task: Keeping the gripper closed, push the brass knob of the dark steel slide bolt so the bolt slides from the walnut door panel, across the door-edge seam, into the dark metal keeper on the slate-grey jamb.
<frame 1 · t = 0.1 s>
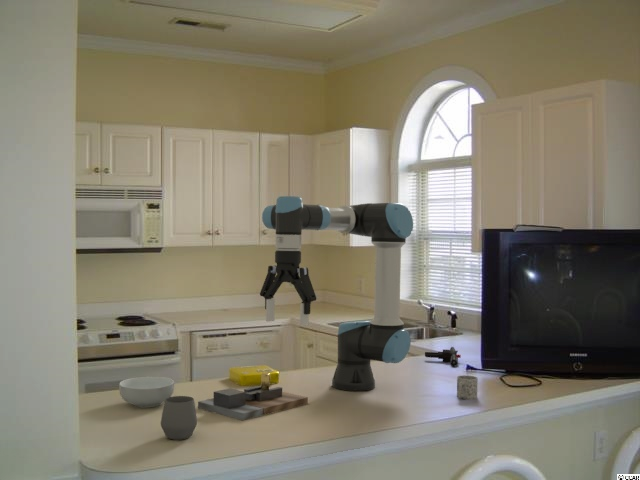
hand: (286, 323, 205), 28 cm above the worktop, tool pointing down, fingers open, 13 cm apart
door and jamb: (251, 406, 221), on the worktop
bolt: (258, 386, 223), point 6 cm above the worktop, slide at 0.0 cm
cup: (178, 437, 187), on the worktop
cereal bowl: (146, 405, 221), on the worktop
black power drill: (442, 362, 303), on the worktop
bolt housing: (248, 394, 220), on the door and jamb, point 4 cm above the worktop
element tile: (253, 382, 259), on the worktop
mug: (464, 398, 237), on the worktop
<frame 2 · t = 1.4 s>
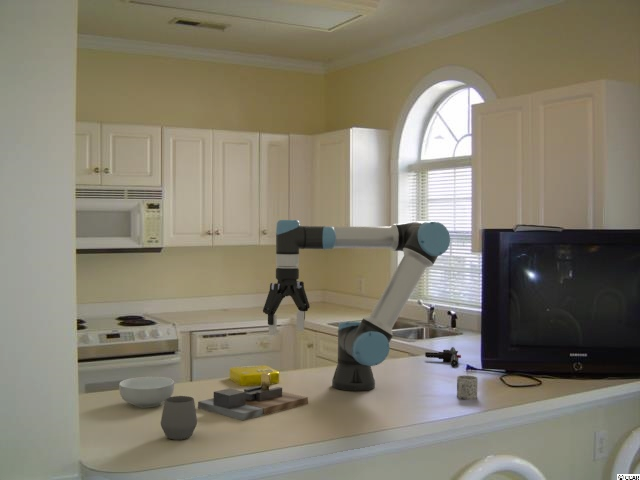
hand: (286, 332, 231), 21 cm above the worktop, tool pointing down, fingers open, 13 cm apart
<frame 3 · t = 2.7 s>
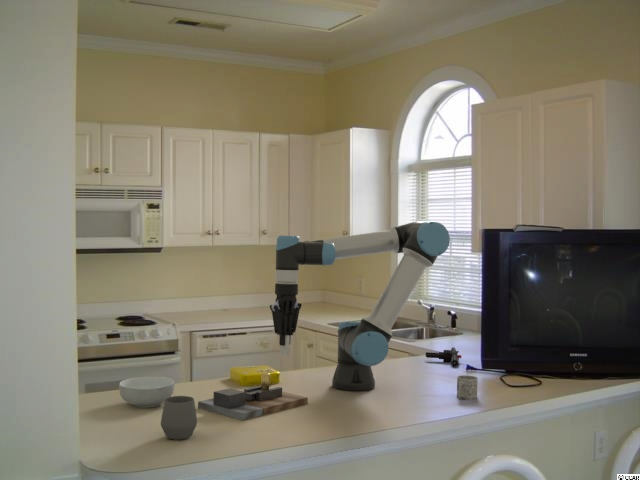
hand: (284, 355, 232), 14 cm above the worktop, tool pointing down, fingers closed
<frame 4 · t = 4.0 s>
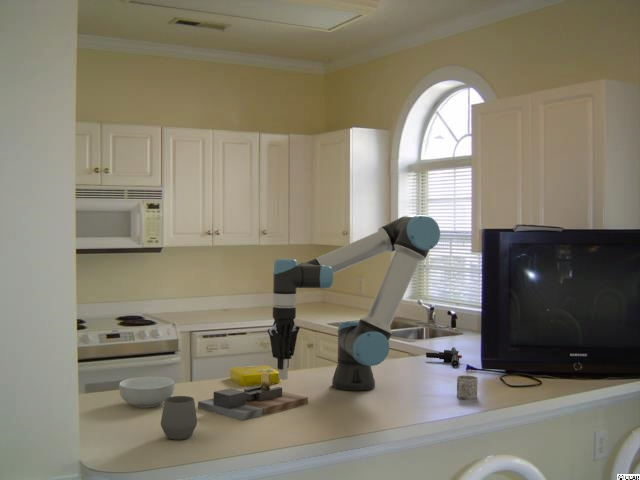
hand: (282, 378, 231), 7 cm above the worktop, tool pointing down, fingers closed
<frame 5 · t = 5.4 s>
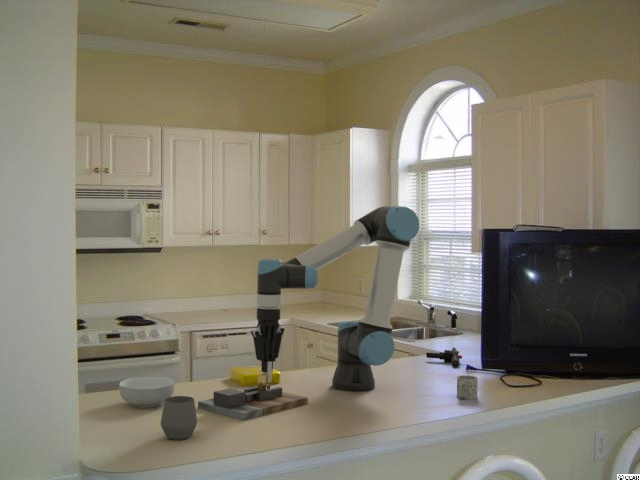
hand: (266, 381, 226), 7 cm above the worktop, tool pointing down, fingers closed
bolt: (255, 386, 222), point 6 cm above the worktop, slide at 1.4 cm, touching gripper
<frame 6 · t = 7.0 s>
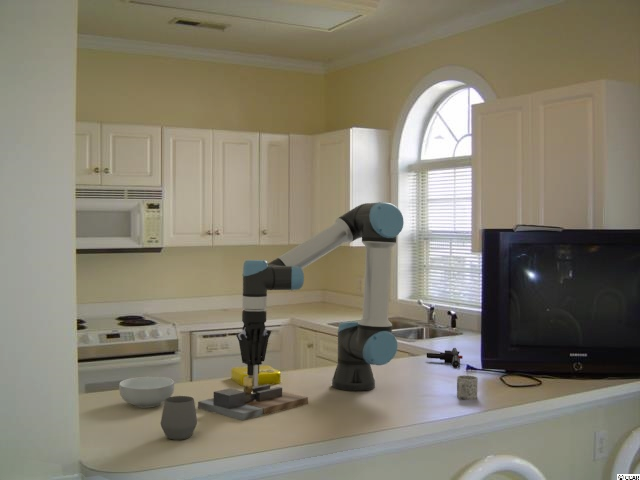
hand: (253, 385, 221), 6 cm above the worktop, tool pointing down, fingers closed
bolt: (240, 390, 217), point 6 cm above the worktop, slide at 7.6 cm, touching gripper
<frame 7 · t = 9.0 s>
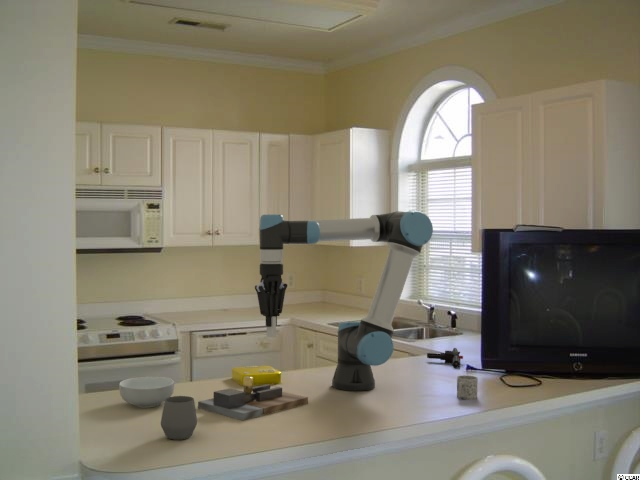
hand: (271, 336, 227), 21 cm above the worktop, tool pointing down, fingers closed
bolt: (240, 390, 217), point 6 cm above the worktop, slide at 7.6 cm
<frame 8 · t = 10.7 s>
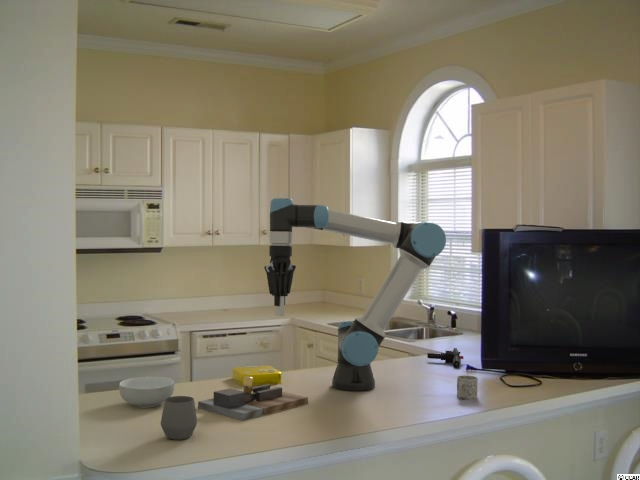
hand: (279, 315, 236), 26 cm above the worktop, tool pointing down, fingers closed
at the end: bolt slide at 7.6 cm; the gripper is holding nothing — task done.
